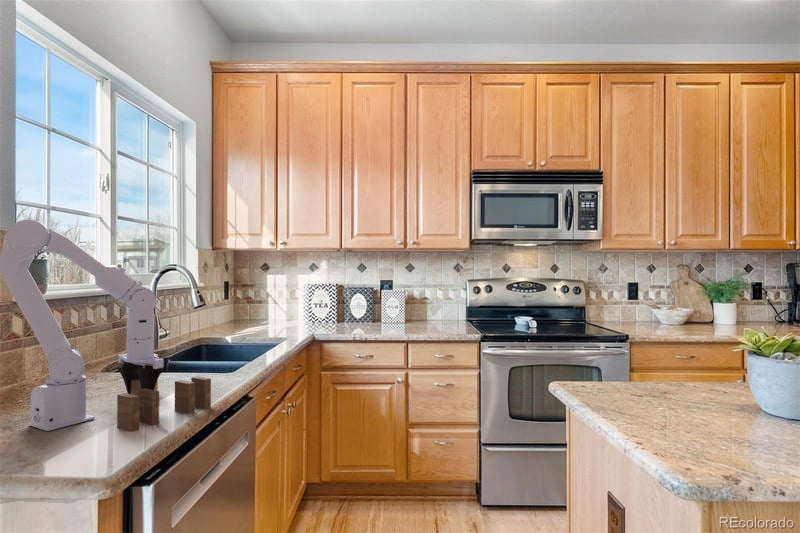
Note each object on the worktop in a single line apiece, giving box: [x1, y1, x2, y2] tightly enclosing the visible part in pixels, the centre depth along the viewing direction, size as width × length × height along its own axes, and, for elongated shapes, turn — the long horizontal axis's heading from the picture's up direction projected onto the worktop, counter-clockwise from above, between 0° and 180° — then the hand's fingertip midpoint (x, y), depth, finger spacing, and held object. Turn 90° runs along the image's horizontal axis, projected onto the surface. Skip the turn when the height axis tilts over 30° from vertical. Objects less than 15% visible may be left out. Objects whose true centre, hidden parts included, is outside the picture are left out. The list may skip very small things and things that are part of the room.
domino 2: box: [131, 379, 141, 396], centre depth 113 cm, size 2×5×7 cm, turn 61°
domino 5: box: [190, 375, 212, 410], centre depth 116 cm, size 2×5×7 cm, turn 61°
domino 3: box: [138, 388, 160, 426], centre depth 104 cm, size 2×5×7 cm, turn 61°
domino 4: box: [174, 379, 196, 415], centre depth 112 cm, size 2×5×7 cm, turn 61°
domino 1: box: [116, 392, 140, 433], centre depth 100 cm, size 2×5×7 cm, turn 61°
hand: (140, 395), depth 113 cm, fingers open, 5 cm apart
